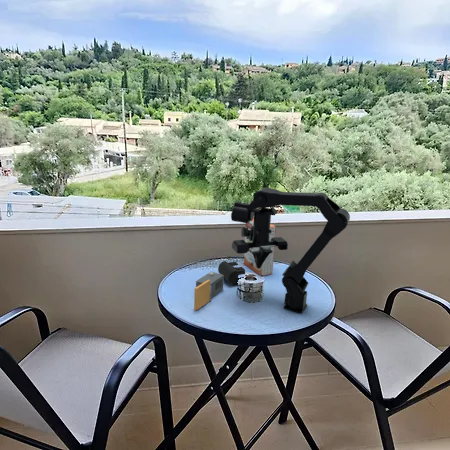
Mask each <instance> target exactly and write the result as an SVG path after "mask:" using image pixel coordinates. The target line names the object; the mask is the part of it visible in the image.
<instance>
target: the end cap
mask: <svg viewBox="0 0 450 450" xmlns="http://www.w3.org/2000/svg"><path fill="white" fill-rule="evenodd" d="M238 265H239V263H238V262H236V261H231V262H228V261H227V260H223V261H221V262H220V264H219V265H218V266H217V267H218V268H217V271H218V272H217V273H218V274H222V275H224V279H225V280H226V281H227V282H228V283H229V284H231V285H232V286H234V287H235V286H239V285H238V283H237V282H238V280H239V279H241V278H244V277H245V276H242V275H246V268H244V267H243V266H239V267H236V266H238ZM240 276H241V277H240ZM239 277H240V278H239Z"/></svg>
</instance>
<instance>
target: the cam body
mask: <svg viewBox="0 0 450 450" xmlns="http://www.w3.org/2000/svg"><path fill="white" fill-rule="evenodd" d="M224 279H225V278H224V275H222V274H220V273H219V272H215V271H214V272H213V271H210V272H208V273H207V274H205V275H203V276H202V277H200V278H199V279H197V280H196V281H195V288H196V287H197V286H199V285H201V284H202V283H204V282H206V281H207V280H210V285H211V299H212V298H214V297H215V296H217V295H219V294H220V293H221V292H222V291H224Z"/></svg>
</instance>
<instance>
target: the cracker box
mask: <svg viewBox="0 0 450 450" xmlns="http://www.w3.org/2000/svg"><path fill="white" fill-rule="evenodd" d="M253 222H254V218H253V220H252V221H250V222H249V223H245V228H248V230H251V227H252V226H253ZM270 230H271V233H270V234H269V241H271V239H272V238H275V237H276V231H277V230H276V225H274V224H273V223H270ZM244 241H245V242H246V243H252V241H250V240H249V239H246V237H244ZM271 250H272V251H273V252H272V253H270V254H269V255H268V257H267V258H266V259H265V261H264V263H263V264H262V266H261V268H259V269H258V268H257V266H256V263H255V259H254V256H253V254H252V253H251V252H250V251H248V252H247V253H243V255H244V256H243V265H245V266H246V267H248V268H249V269H250V270H252V271H253V272H254V271H255V272H254V273H256V274H257V273H258V274H257V275H259V274H260V275H263V276H262V277H265V276H270V275H273V271H274V256H275V246H274V247H271ZM260 275H259V276H260Z"/></svg>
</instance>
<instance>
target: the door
mask: <svg viewBox="0 0 450 450" xmlns="http://www.w3.org/2000/svg"><path fill="white" fill-rule="evenodd" d="M193 300H194V301H193V302H194V306H193V310H194V311H198V310H199V309H200V308H202V307H203V306H204V305H205V306H206V305H207V304H208V303H211V301H212V298H211V285H210V280H207V281H206V282H204V283H202V284H201V285H199V286H197V287H196V286H195V287H194V298H193Z"/></svg>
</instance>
